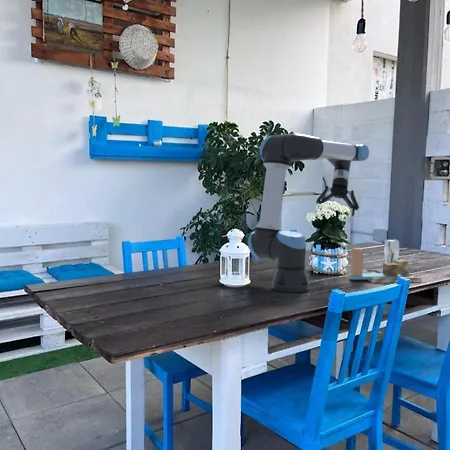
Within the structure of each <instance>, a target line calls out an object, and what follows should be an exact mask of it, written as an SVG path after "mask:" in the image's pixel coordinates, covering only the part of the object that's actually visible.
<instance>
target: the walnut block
mask: <svg viewBox="0 0 450 450" xmlns="http://www.w3.org/2000/svg"><path fill="white" fill-rule="evenodd" d="M382 269H383V274H384V275H386V276H398V264H396V263H385V262H382Z"/></svg>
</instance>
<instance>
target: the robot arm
mask: <svg viewBox="0 0 450 450" xmlns="http://www.w3.org/2000/svg"><path fill="white" fill-rule="evenodd" d="M259 146H260V147H259V156H260V159H261V160H262V161H263V164H262V165H263V167H265V169H266V171H265V177H264V185H263V192H262V200H261V209H260V216H259V222H258V224H256V226H255V229H254V231H252V232H251V233H250V235H249V236H248V238H247V247H248V250H249V249H250V250H249V252H250V253H251V255H252V256H254V257H256V258H259V259H262V260H268V261H274V262H276V270H275V272H274V273H275V274H274V276H273V279H272V282H271V284H272V286H271V288H272V289H273V290H275V291H277V292H281V293H282V292H283V293H301V292H302V293H304V292H307V291H309V290H310V283H309V280H308V276H307V272H306V248H307V242H306V241H307V240H306V237H305V235H304V234H302V233H301V232H298V231H290V230H283V229H282V228H281V226H280V223H281V222H280V221H281V220H280V219H281V214H282V213H281V212H282V205H283V197H284V190H285V189H284V188H285V183H286V181H285V180H286V173H287V171H288V169H290V168H291V163H292V162H301V161H311V160H312V161H315V160H318V159H326V160H327V161H328V162H329V163H330V164H331V165H332V166H333V167H334V170H333V176H332V182H331V187H329V186H328V185H325V188H324V190H323V191H322V193H321V194H320V195H319V196H318V198H317V199H316V202H315V203H316V204H318V205H319V204H321V203H324V202H325V203H327V202H328V201H329V200H330V199H333V197H334V198H335V199H342V200H343V201H344V202H345V203H346V204H347V206H348V208H349V209H350V210H349V214H350V213H351V214H350V217H349V216H348V222H347V223H348V224H351V222H352V217H354V216H355V211H358V210H359V209H360V206H359V204H358V201H357V199H356V196H355V191H354V190H348V188H349V178H350V168H351V164H352V162H365V161H367V159H368V158H369V156H370V149H369V146H367V144H353V143H352V144H351V143H344V142H336V141H330V140H329V141H328V140H322V139H321V138H320V137H317V136H312V135H307V134H302V133H285V134H282V133H281V134H273V135H269V136H267V137H265V138H264V139H263V140H262V141H261V143H260V145H259ZM329 191H330V194H328V195H327V196H326V197H325V195H326V194H327V192H329ZM349 197H350V198H349ZM325 203H324V204H325Z"/></svg>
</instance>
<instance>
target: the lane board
mask: <svg viewBox="0 0 450 450" xmlns="http://www.w3.org/2000/svg"><path fill="white" fill-rule="evenodd" d="M362 273H383V268H380V269H375V268H374V269H371V268H370V269H369V268H367V269H365V268H364V269H363V271H362ZM398 274H399V275H401V276H402V277H404V278H407V279H410V280H411V282H410V283H422V276H421V277H420V276H419V277H418V276H414V275H413V273H412V272H411V271H409V270H408V272H398ZM366 280H367V281H369V282H370V283H373V284H374V283H375V284H376V283H378V284H380V283H382V284H383V283H385V284H386V283H388V284H389V283H397V282H396V280H397V278H372V279H366Z"/></svg>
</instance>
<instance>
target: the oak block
mask: <svg viewBox="0 0 450 450" xmlns="http://www.w3.org/2000/svg"><path fill="white" fill-rule="evenodd" d="M392 263H396V264H398V272H408V271H409V260H405V259H402V258H401V259H399V258H398V259H396V260H392Z"/></svg>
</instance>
